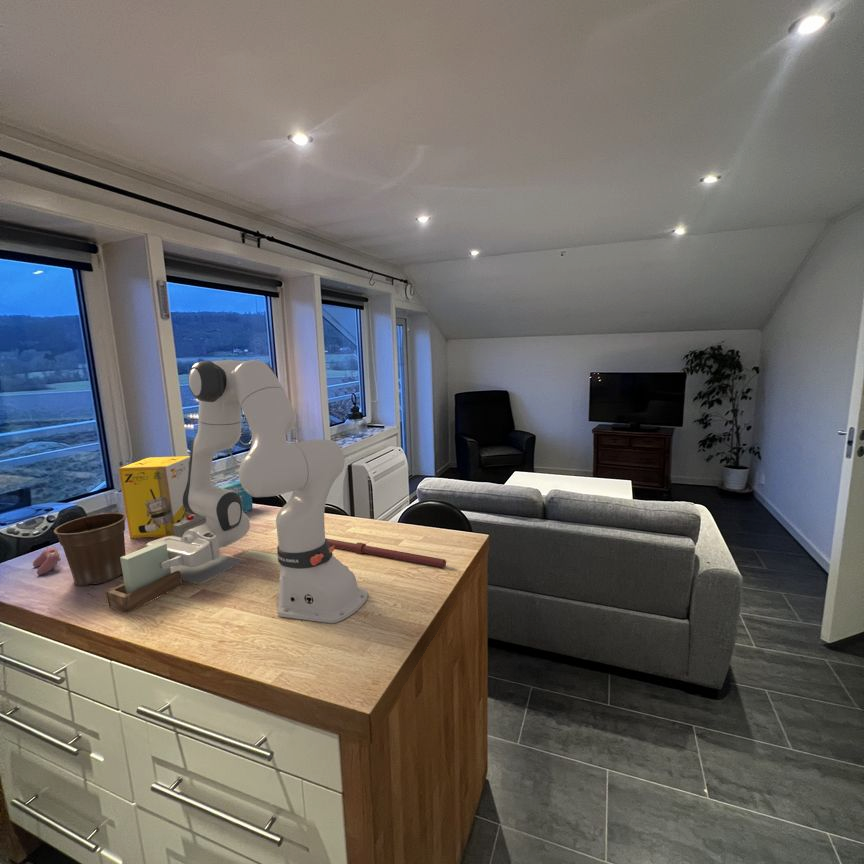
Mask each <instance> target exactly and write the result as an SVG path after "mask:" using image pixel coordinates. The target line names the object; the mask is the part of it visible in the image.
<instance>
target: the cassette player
mask: <svg viewBox="0 0 864 864" xmlns="http://www.w3.org/2000/svg"><path fill="white" fill-rule="evenodd" d="M205 522H206V518H205V517H202V516H199V515H195V514H193V515H190V516H188V517H187V519H186V520H184V521H181V522H179V523H176V524H174V525H172V526H173V533H174V536H176V537H181V538H182V537H183V534H184V532H185V531H187V530H189V529H192V528H194V527H197V526H199V525H202V524H204V523H205Z"/></svg>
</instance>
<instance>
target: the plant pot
mask: <svg viewBox="0 0 864 864" xmlns="http://www.w3.org/2000/svg"><path fill="white" fill-rule="evenodd" d="M125 520H127V516H126V513H122V512H105V513H97V514H92V515H88V516H83V517H79V518H76V519H73V520H70V521H67V522H65V523H63V524H61V525H58V526H57V527H56V528H54V530H53V533H54V535H56V536H57V539H58V541H59V544H60V546H62V549H63V551H64V555H65V557H66V561H67V563H68V566H69V569H70V573H71V575H72V579H73V582H74V584H75V585H76V586H81V587H85V586H86V587H88V586H89V585H91V584H95V585H98V584H102V583H106V582H109V581H111V580H114V579H116V578H118V577H119V576H122V575H123V572H122V566H121V560H120V557H123V556H125V555H127V554H126V543H125V531H126V521H125Z"/></svg>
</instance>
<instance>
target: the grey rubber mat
mask: <svg viewBox="0 0 864 864" xmlns="http://www.w3.org/2000/svg"><path fill="white" fill-rule="evenodd" d="M242 561H243V562H245V559H242V558H237V557H233V556H229V555H225V554H221V553H219V558H217V559H214V560H210V561H208V562H206V563H204V564H201V565H199V566H196V567H188V566H184V565H179V566H174V567H170V570H171V573H173V572H175V571H180V575H181V581H185V582H188V583H191V582H192V583H191V584H196V585H198V584H199V585H202V584H203V583H205V582H207V581H209V580H211V579H213V578H214V576H215V577H216V575H217V576H218V575H220V574H223V573H225V572H226V571H228V570H230V569H232V568H233V566H234V567H235V565H236V566H237V564H238V563H239V564H241V563H243V562H242ZM240 562H241V563H240ZM239 564H238V565H239ZM231 567H232V568H231ZM229 568H230V569H229ZM212 577H213V578H212ZM210 578H211V579H210ZM208 579H209V580H208ZM206 580H207V581H206ZM204 581H205V582H204ZM202 582H203V583H202Z"/></svg>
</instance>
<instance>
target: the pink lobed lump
mask: <svg viewBox="0 0 864 864" xmlns="http://www.w3.org/2000/svg"><path fill="white" fill-rule="evenodd" d="M61 560H62V558H61V557H60V553H59V550H58V548H57V547H55V546H52V547H51V546H50V547H46V549H45V548H44V550H43V551H42V552H41V553H40V555H38V556H37V557H36V558H35V559H34V560H33V561H32V566H33V567H34V568H37V566H38V569H37V570H36V574H37V575H38V576H43V575H44V574H47V573H49V572H50V571H51V570H53V569H54V568H55V566H56V565H57V564H58V562H61ZM42 574H43V575H42Z"/></svg>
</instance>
